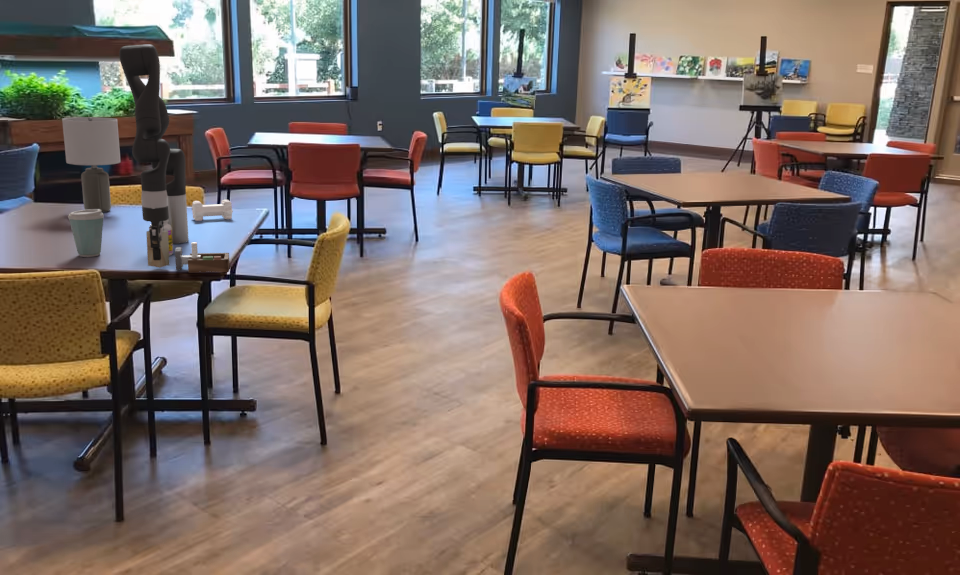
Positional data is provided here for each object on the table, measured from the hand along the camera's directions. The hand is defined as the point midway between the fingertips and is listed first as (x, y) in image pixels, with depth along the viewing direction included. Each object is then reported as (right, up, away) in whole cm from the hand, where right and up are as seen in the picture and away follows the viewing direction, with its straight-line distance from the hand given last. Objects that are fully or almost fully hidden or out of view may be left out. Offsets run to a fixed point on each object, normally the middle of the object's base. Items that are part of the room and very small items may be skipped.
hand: (158, 257), depth 250 cm
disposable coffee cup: (-29, +1, +15) cm, 33 cm away
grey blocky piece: (+8, -3, +3) cm, 9 cm away
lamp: (-60, +22, +86) cm, 108 cm away
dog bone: (-10, +18, +81) cm, 83 cm away
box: (0, -3, +1) cm, 3 cm away
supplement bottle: (-6, +1, +19) cm, 20 cm away
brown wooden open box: (+14, -3, +5) cm, 15 cm away
